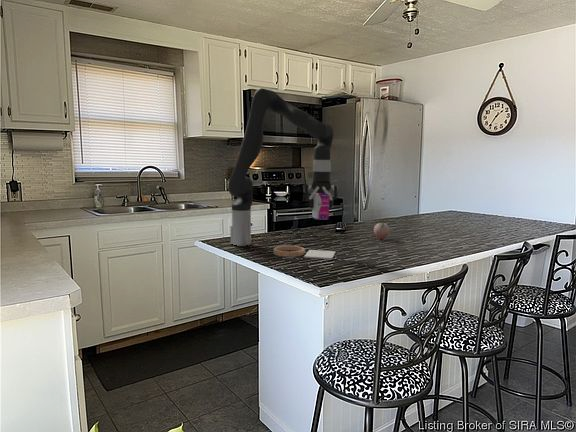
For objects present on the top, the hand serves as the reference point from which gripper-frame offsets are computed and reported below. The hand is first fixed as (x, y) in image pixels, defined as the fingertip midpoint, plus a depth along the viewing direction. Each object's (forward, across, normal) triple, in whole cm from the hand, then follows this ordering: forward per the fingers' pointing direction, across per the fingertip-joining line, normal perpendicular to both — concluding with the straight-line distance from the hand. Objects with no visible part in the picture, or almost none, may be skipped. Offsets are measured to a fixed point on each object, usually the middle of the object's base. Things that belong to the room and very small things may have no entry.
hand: (320, 208), depth 178 cm
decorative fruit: (+21, +26, +44) cm, 56 cm away
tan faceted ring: (+21, -14, 0) cm, 25 cm away
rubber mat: (+21, 0, 0) cm, 21 cm away
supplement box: (+5, 0, 0) cm, 5 cm away
